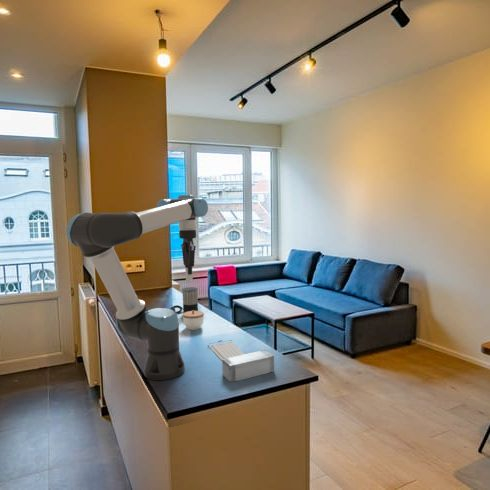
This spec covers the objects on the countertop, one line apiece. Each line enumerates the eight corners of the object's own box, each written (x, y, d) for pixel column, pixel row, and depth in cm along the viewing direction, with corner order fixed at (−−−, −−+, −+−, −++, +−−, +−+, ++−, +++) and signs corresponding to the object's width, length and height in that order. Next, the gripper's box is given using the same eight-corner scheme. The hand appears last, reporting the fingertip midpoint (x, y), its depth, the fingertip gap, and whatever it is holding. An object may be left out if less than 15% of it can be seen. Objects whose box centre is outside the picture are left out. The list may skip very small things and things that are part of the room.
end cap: (230, 382, 136) (230, 365, 135) (222, 374, 142) (222, 359, 141) (274, 371, 144) (274, 355, 143) (264, 364, 150) (264, 349, 150)
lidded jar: (208, 327, 198) (207, 310, 197) (191, 332, 191) (190, 314, 190) (195, 323, 206) (195, 306, 205) (179, 328, 198) (178, 310, 197)
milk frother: (200, 314, 223) (199, 289, 222) (173, 318, 218) (172, 292, 216) (194, 308, 237) (193, 285, 235) (168, 311, 231) (167, 287, 229)
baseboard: (230, 377, 141) (260, 371, 146) (230, 369, 141) (260, 363, 146) (206, 349, 170) (231, 345, 174) (206, 342, 170) (231, 338, 174)
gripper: (200, 229, 169) (202, 282, 171) (190, 228, 180) (192, 278, 183) (184, 230, 165) (186, 284, 168) (175, 229, 177) (176, 279, 179)
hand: (189, 281), depth 175 cm, fingers closed
